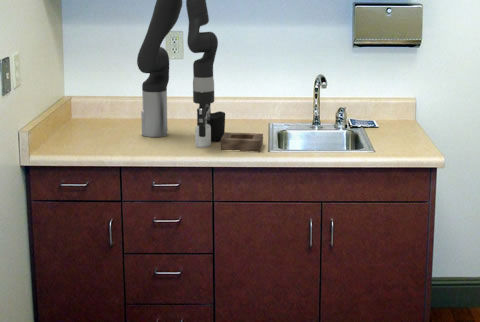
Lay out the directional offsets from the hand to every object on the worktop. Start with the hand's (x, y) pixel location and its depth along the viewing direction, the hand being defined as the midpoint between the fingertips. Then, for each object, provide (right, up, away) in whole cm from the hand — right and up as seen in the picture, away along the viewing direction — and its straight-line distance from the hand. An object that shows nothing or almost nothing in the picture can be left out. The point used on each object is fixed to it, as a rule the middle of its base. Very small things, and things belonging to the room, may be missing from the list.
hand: (204, 134), depth 278 cm
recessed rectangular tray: (+13, -5, +1) cm, 14 cm away
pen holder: (+2, -2, +13) cm, 13 cm away
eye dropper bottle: (-1, -5, +2) cm, 5 cm away
